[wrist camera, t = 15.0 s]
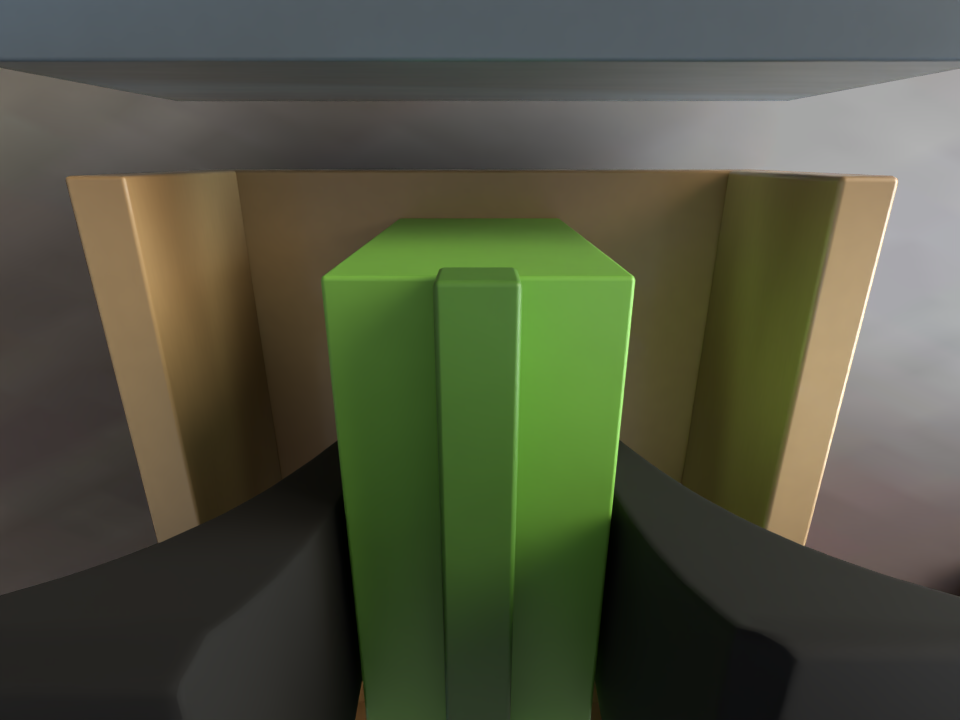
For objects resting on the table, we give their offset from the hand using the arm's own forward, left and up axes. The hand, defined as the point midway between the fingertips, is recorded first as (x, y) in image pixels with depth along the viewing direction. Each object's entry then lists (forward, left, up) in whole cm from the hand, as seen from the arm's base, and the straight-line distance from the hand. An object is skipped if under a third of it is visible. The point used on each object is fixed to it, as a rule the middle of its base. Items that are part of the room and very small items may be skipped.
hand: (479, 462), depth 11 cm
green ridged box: (0, 0, -2) cm, 2 cm away
